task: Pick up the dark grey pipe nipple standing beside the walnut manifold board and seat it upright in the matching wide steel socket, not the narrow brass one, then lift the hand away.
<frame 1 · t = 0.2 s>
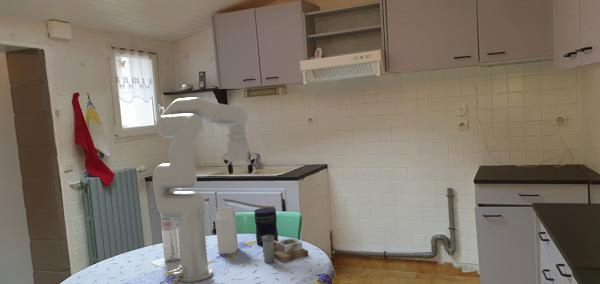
hand: (240, 173, 203), 31 cm above the table, tool pointing down, fingers open, 9 cm apart
pipe nipple: (269, 261, 173), on the table
milk carton: (228, 251, 190), on the table
manifold board: (285, 254, 180), on the table
storage jar: (267, 243, 197), on the table
water bottle: (173, 259, 184), on the table
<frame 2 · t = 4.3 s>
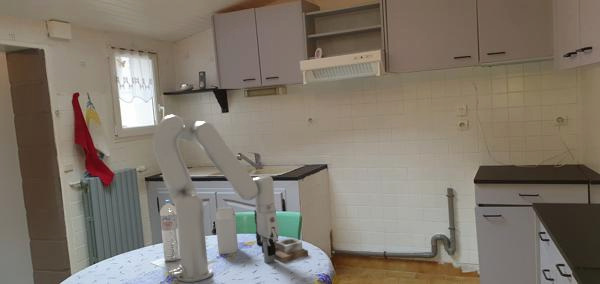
hand: (268, 253, 173), 3 cm above the table, tool pointing down, fingers closed on pipe nipple, 4 cm apart
pipe nipple: (269, 261, 173), on the table, touching gripper
everything else where it was.
when the fingers open (6 cm above the table, at t = 9.6 s): pipe nipple stays where it is, resting on manifold board.
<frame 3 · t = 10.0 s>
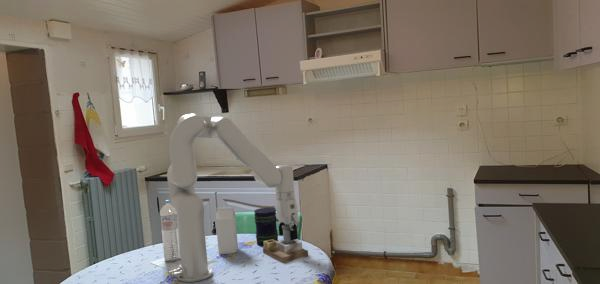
hand: (288, 236, 180), 7 cm above the table, tool pointing down, fingers open, 8 cm apart
pipe nipple: (289, 249, 180), point 2 cm above the table, touching manifold board
everything else where it was.
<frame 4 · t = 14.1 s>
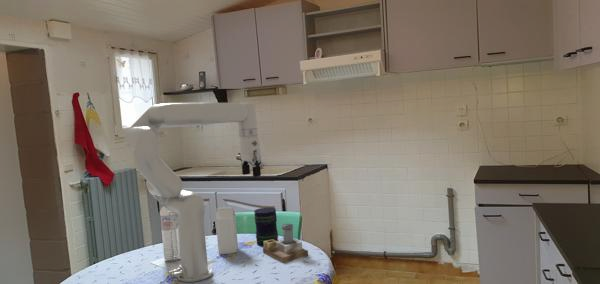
hand: (251, 175, 179), 33 cm above the table, tool pointing down, fingers open, 9 cm apart
nothing on the table moved.
at the end: pipe nipple 0.0 cm from the target spot on the manifold board, point 2.0 cm above the manifold board's base; pipe nipple tilted 0°; the gripper is holding nothing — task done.
